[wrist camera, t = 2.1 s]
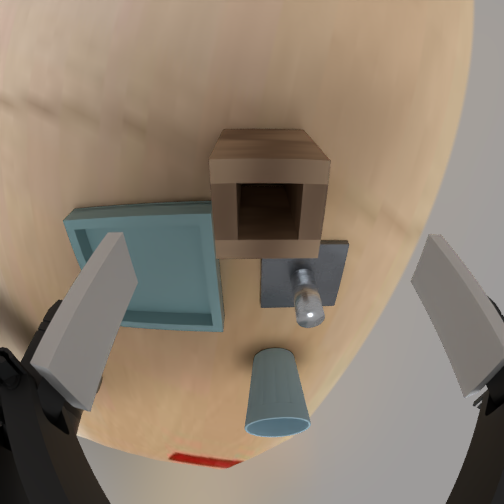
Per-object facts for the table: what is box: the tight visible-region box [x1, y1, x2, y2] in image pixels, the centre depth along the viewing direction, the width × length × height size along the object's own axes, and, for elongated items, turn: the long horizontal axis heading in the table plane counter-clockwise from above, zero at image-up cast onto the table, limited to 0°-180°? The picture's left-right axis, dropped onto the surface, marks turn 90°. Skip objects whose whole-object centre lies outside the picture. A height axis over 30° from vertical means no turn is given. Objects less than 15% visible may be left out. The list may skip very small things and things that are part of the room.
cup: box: [245, 348, 311, 437], centre depth 32 cm, size 8×8×10 cm
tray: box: [63, 201, 225, 332], centre depth 26 cm, size 14×14×2 cm
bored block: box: [209, 129, 331, 259], centre depth 18 cm, size 6×6×8 cm
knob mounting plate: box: [261, 241, 349, 328], centre depth 25 cm, size 8×8×6 cm
